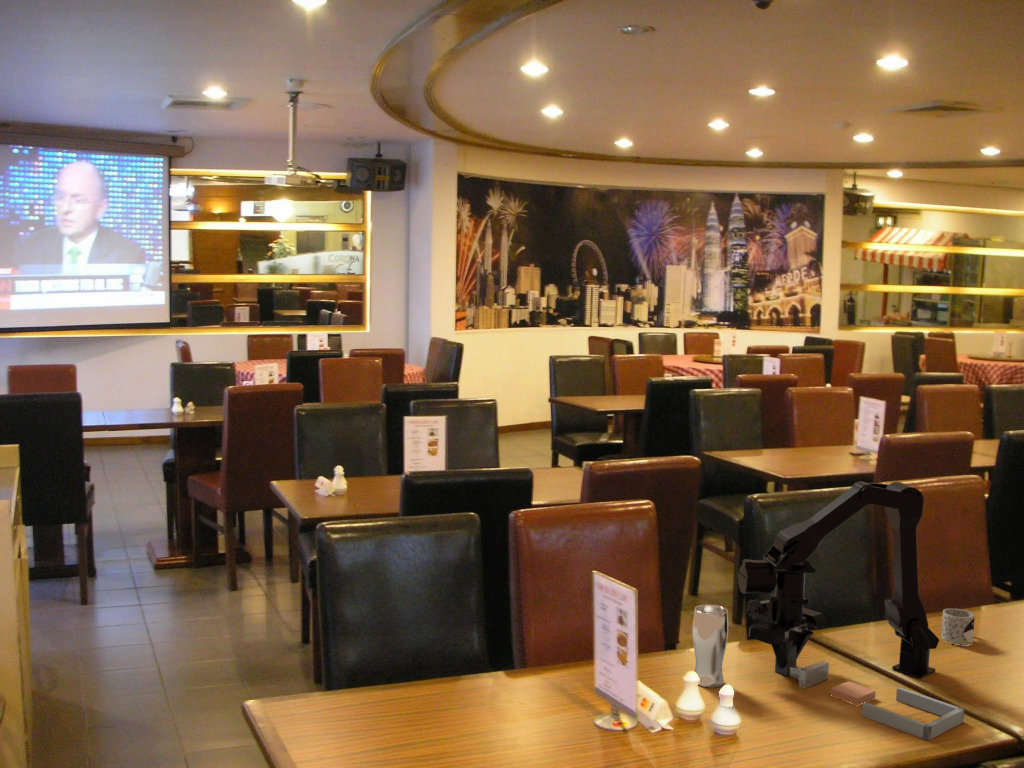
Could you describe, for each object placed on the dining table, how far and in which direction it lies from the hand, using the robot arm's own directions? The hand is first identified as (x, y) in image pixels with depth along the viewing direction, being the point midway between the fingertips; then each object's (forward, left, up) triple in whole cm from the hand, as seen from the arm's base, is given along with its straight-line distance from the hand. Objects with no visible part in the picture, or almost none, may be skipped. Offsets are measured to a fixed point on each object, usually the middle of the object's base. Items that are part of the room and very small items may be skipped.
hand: (786, 665), depth 213 cm
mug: (-50, +12, -2) cm, 51 cm away
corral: (0, +28, -2) cm, 28 cm away
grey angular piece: (0, +3, -1) cm, 3 cm away
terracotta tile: (0, +16, -2) cm, 16 cm away
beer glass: (+17, -6, -2) cm, 18 cm away
